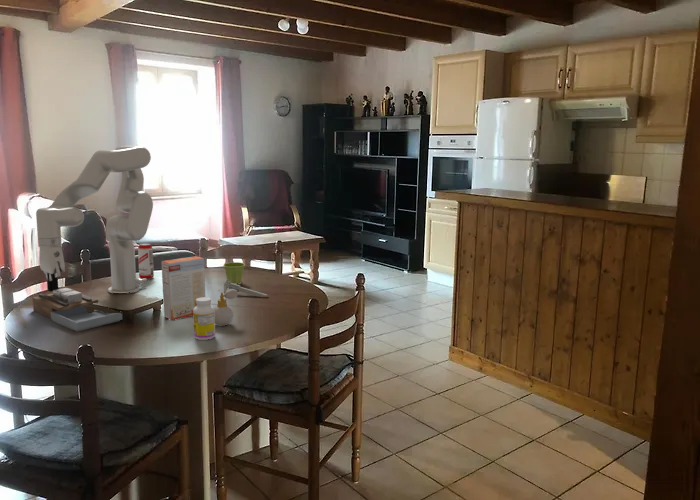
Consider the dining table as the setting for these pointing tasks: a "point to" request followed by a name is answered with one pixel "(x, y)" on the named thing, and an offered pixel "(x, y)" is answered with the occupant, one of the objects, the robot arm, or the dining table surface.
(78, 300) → the chip
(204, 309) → the supplement bottle
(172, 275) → the cracker box
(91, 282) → the dining table surface
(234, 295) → the perfume bottle
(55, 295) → the chip
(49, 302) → the slot board
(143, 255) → the beer can
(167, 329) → the dining table surface
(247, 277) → the dining table surface
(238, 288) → the caliper
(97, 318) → the tray
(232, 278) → the plant pot
